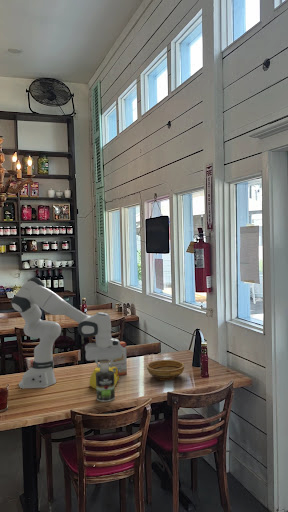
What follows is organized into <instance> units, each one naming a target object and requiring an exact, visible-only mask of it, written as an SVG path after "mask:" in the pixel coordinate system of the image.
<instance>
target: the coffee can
mask: <svg viewBox="0 0 288 512" xmlns="http://www.w3.org/2000/svg"><path fill="white" fill-rule="evenodd" d="M115 389H116V387H115V386H114V372H113V371H108V372H100V371H99V372H97V373H96V389H95V390H96V401H97V402H103V403H104V402H111V401H114V400H115V399H116V395H115Z"/></svg>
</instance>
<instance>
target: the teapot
mask: <svg viewBox="0 0 288 512" xmlns="http://www.w3.org/2000/svg"><path fill="white" fill-rule="evenodd" d="M112 369H116V373H114V387H115V386H117V383H118V381H119V380H120V376H117V374H118V369H117V368H116V367H112V368H111V367H109V371H113V370H112ZM99 371H100V368H97V367H95V368H94V370H93V371H92V372H91V374H90V378H89V385H90V387H92V389H94V390H96V373H97V372H99ZM113 372H114V371H113Z"/></svg>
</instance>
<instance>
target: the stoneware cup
mask: <svg viewBox="0 0 288 512" xmlns="http://www.w3.org/2000/svg"><path fill="white" fill-rule="evenodd" d="M98 363H99V364H100V372H108V371H109V359H102V360H98Z"/></svg>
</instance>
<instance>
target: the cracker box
mask: <svg viewBox="0 0 288 512" xmlns="http://www.w3.org/2000/svg"><path fill="white" fill-rule="evenodd" d="M120 346H121V348H122V354H123V356H122V357H121V358H113V362H112V366H111V368H112V367H116V368H117V369H118V374H117V376H119V377H120V376H124V375H125V376H126V375H127V374H128V368H127V365H128V364H127V363H128V362H127V360H128V359H127V343H126V342H125V341H120ZM110 361H111V359H109V363H110ZM112 370H113V371H114V373H116V369H112Z"/></svg>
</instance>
